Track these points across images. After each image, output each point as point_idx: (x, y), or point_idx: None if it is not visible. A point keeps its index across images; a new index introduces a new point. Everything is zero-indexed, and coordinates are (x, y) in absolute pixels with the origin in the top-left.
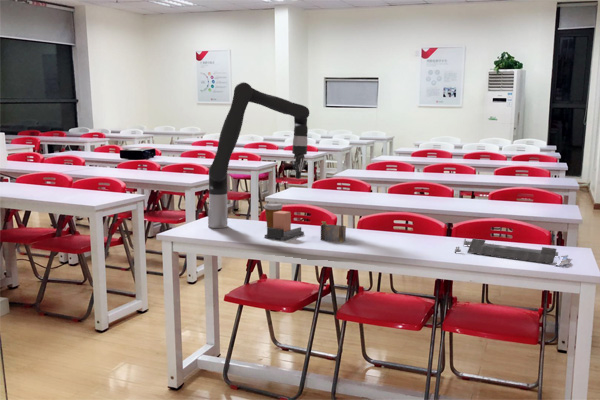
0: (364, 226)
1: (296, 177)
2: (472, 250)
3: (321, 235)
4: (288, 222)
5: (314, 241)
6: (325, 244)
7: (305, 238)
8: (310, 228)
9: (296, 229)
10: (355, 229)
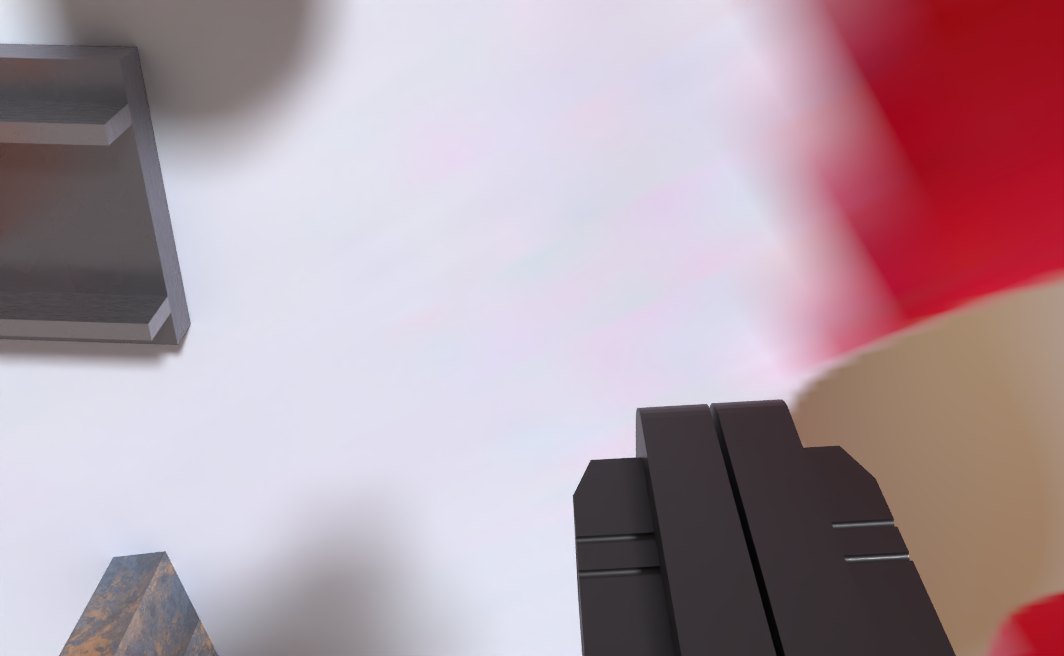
0: (1016, 623)
1: (638, 462)
2: None
3: (103, 596)
4: None
5: (22, 540)
6: (12, 645)
7: (52, 424)
8: (571, 211)
9: (36, 330)
10: None
